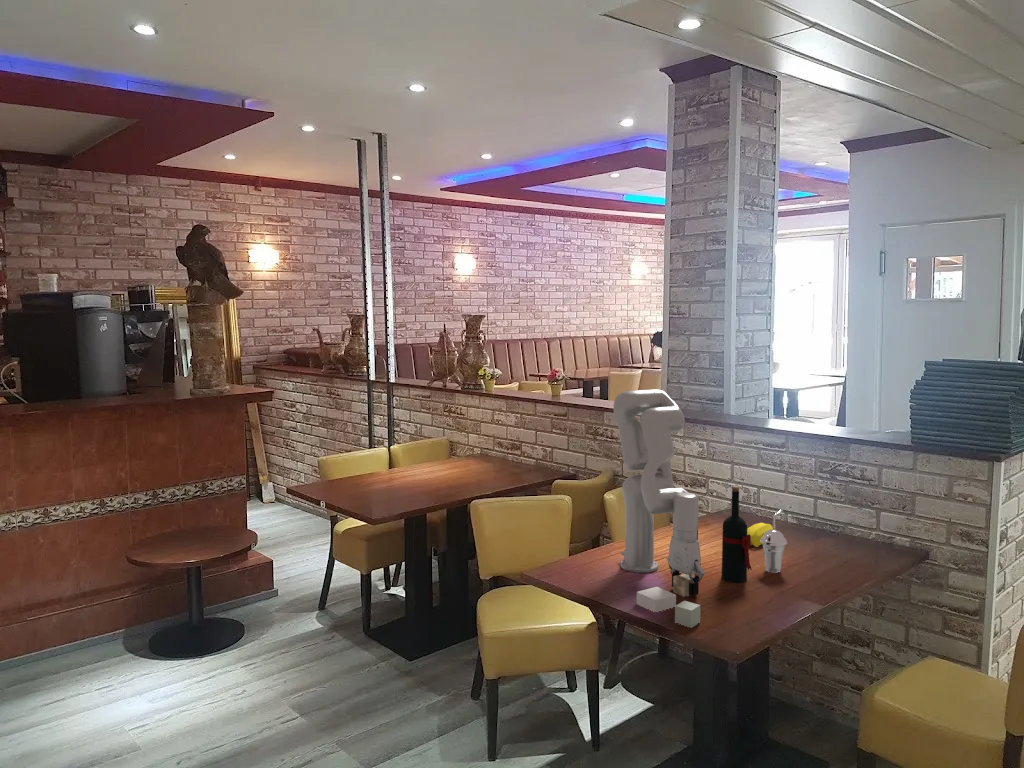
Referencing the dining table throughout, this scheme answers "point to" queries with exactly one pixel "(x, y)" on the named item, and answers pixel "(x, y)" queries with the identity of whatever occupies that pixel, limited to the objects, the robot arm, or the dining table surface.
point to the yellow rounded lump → (758, 532)
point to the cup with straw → (773, 548)
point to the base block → (656, 599)
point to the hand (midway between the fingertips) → (684, 590)
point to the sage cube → (687, 614)
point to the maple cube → (681, 584)
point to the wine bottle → (735, 545)
